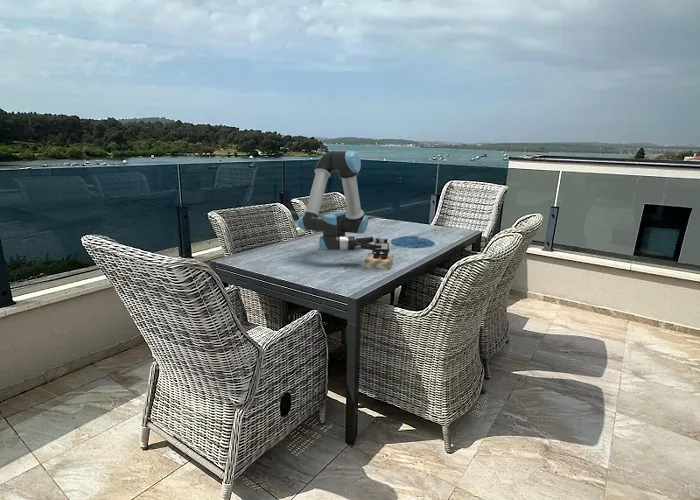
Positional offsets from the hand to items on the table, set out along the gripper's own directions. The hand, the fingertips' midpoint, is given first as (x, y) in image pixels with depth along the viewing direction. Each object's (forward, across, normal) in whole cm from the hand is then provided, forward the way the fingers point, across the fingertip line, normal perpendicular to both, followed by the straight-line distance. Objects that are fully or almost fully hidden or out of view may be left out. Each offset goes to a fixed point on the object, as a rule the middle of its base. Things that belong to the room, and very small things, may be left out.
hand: (386, 243), depth 208 cm
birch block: (-4, 0, -13) cm, 14 cm away
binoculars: (-3, +1, -8) cm, 9 cm away
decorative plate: (+25, -51, -13) cm, 58 cm away
